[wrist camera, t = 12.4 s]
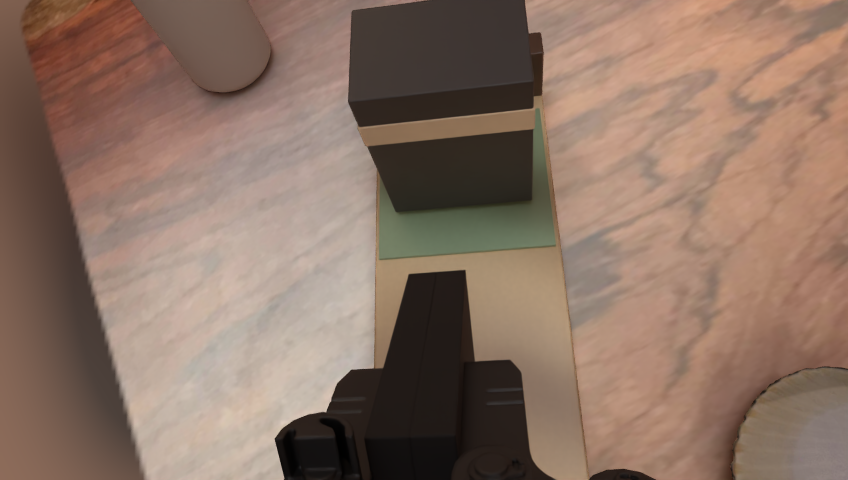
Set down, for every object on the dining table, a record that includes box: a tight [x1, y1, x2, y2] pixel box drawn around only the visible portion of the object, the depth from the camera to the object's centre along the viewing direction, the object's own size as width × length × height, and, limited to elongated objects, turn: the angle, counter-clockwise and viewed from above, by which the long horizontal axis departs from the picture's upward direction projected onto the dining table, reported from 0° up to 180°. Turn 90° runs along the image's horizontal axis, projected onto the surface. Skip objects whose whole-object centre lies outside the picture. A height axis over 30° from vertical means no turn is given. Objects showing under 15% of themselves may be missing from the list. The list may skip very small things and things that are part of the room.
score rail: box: [374, 32, 589, 480], centre depth 23 cm, size 30×8×4 cm, turn 1°
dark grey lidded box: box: [348, 0, 535, 212], centre depth 24 cm, size 4×6×8 cm
